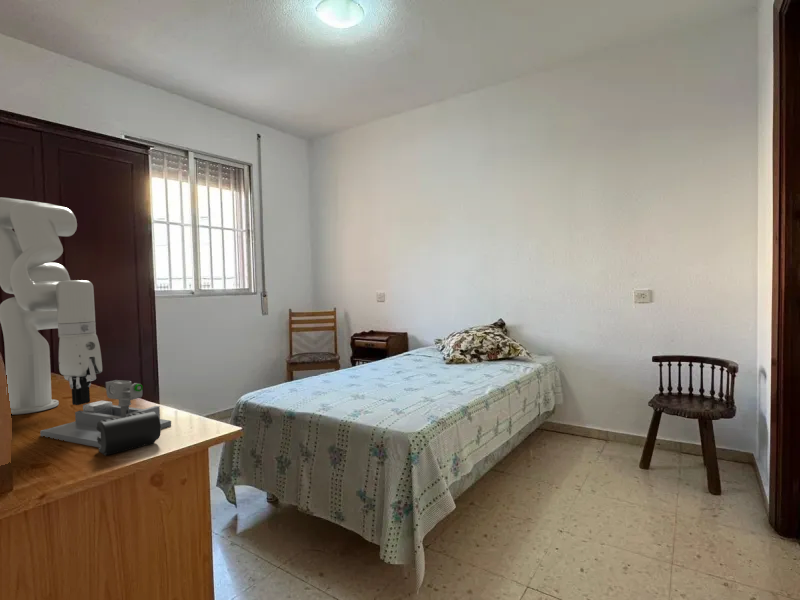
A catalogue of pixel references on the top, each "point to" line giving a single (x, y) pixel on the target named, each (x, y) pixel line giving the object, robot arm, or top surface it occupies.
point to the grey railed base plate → (93, 425)
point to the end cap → (128, 432)
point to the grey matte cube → (99, 407)
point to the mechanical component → (123, 393)
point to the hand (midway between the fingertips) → (81, 403)
